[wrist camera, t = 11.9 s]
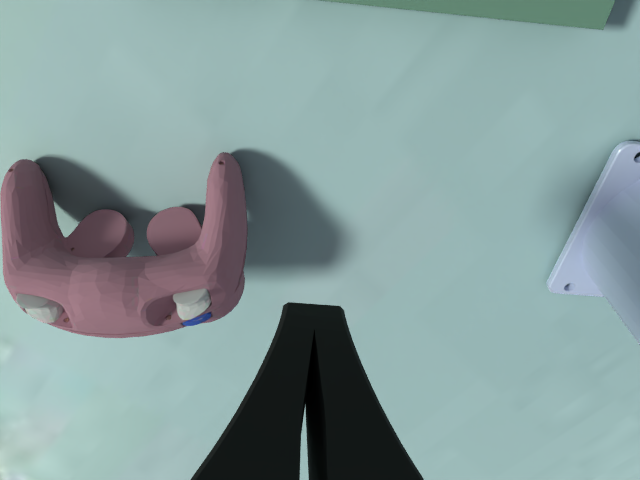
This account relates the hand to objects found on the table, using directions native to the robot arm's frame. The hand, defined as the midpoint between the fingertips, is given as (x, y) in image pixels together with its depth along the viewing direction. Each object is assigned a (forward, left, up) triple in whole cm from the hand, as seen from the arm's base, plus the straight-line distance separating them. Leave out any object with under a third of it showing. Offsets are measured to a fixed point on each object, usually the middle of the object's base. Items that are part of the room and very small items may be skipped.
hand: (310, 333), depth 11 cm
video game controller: (+8, +3, -10) cm, 13 cm away
